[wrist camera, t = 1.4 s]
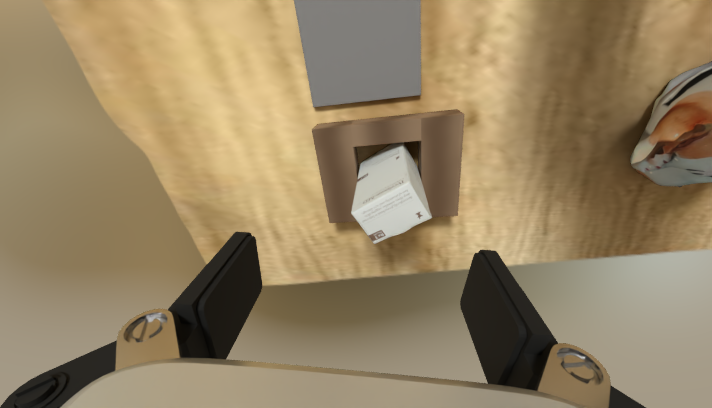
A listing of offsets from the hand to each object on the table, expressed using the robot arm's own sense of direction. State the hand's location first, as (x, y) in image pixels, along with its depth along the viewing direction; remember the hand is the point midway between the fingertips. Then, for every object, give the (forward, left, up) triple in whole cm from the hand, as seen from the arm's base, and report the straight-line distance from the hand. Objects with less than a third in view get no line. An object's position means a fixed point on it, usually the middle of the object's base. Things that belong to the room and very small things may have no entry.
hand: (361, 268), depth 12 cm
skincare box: (-1, +4, -24) cm, 24 cm away
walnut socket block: (-1, +4, -23) cm, 24 cm away
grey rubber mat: (+1, -10, -23) cm, 25 cm away
